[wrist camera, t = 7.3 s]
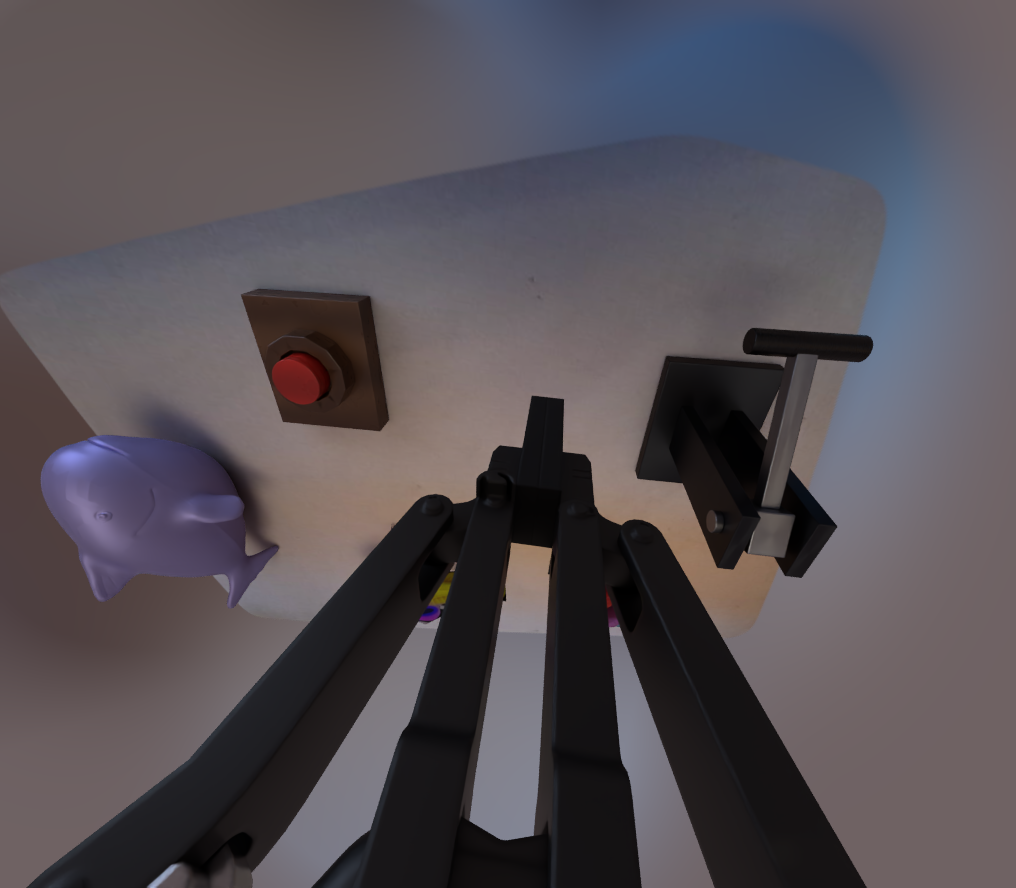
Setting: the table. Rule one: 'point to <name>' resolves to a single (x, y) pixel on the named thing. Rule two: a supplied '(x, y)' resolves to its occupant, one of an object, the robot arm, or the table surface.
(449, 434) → the table surface
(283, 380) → the button
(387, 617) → the robot arm
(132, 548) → the toy whale
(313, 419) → the button block
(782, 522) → the t-handle lever
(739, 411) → the bracket
